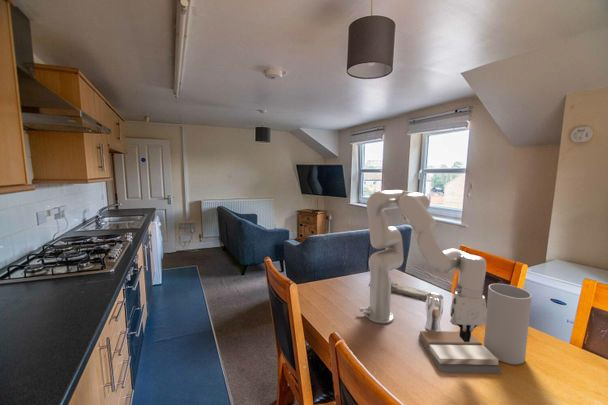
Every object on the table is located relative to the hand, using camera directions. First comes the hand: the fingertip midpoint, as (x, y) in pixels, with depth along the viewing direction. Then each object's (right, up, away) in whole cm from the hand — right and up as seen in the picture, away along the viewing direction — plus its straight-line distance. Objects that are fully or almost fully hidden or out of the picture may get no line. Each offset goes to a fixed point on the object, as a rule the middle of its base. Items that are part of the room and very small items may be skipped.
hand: (464, 339), depth 94 cm
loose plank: (0, -7, +2) cm, 8 cm away
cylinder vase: (+18, -9, +6) cm, 21 cm away
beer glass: (0, -7, +22) cm, 23 cm away
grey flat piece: (0, -9, +6) cm, 10 cm away
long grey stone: (-2, -3, +59) cm, 59 cm away
